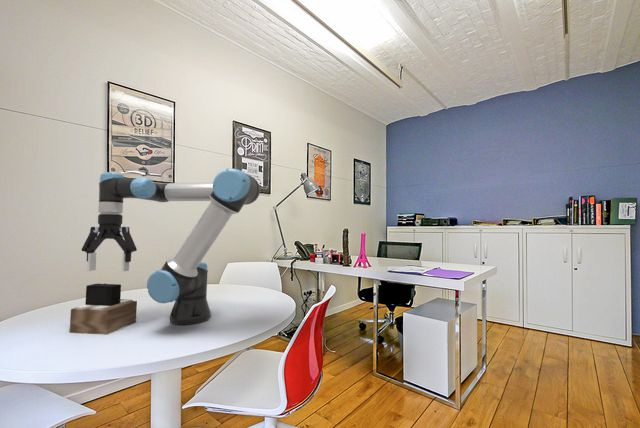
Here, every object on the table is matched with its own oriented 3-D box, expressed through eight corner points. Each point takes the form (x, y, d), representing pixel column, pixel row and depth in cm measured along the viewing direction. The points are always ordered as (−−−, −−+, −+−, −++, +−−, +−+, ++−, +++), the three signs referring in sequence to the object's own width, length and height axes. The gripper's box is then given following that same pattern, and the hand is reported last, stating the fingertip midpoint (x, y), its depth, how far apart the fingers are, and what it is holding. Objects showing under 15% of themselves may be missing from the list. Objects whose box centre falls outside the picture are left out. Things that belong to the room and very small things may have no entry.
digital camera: (123, 302, 110) (124, 283, 111) (111, 306, 105) (112, 286, 105) (98, 301, 112) (99, 282, 112) (85, 304, 106) (86, 285, 107)
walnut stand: (136, 321, 115) (137, 299, 115) (106, 334, 101) (108, 308, 101) (102, 320, 116) (104, 298, 117) (69, 332, 102) (71, 307, 103)
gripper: (148, 214, 113) (146, 269, 112) (88, 214, 116) (86, 269, 114) (134, 213, 106) (132, 272, 105) (71, 213, 108) (68, 271, 107)
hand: (108, 270), depth 110 cm, fingers open, 13 cm apart
